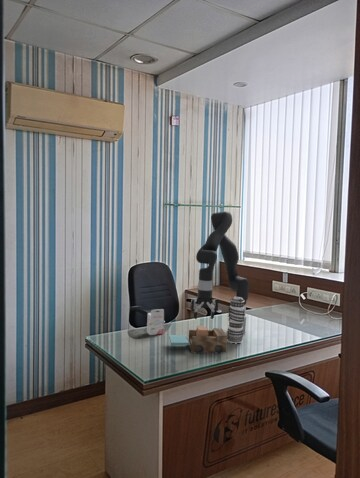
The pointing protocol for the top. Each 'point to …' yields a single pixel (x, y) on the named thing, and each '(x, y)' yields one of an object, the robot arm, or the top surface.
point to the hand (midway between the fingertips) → (203, 318)
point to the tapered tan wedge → (202, 331)
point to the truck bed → (208, 341)
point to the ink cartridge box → (155, 322)
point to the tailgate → (179, 340)
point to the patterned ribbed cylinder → (235, 320)
